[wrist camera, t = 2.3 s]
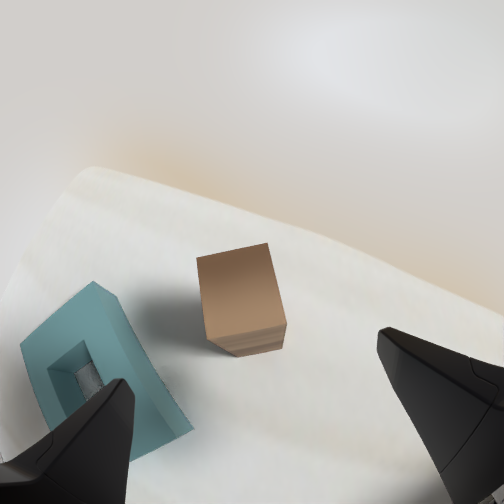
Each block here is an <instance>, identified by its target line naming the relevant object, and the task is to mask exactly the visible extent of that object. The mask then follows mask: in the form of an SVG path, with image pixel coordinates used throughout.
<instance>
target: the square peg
mask: <svg viewBox="0 0 504 504" xmlns="http://www.w3.org/2000/svg"><path fill="white" fill-rule="evenodd" d="M196 259H197V268H198V277H199V285H200V293H201V301H202V309H203V316H204V323H205V330H206V336H207V340H209V341H211V342H212V343H214V344H216V345H217V346H219V347H221V348H222V349H224V350H226V351H228V352H229V353H231V354H233V355H235V356H236V357H243V356H249V355H254V354H259V353H264V352H269V351H274V350H278V349H282V346H283V341H284V336H285V331H286V326H287V322H286V318H285V313H284V309H283V305H282V301H281V297H280V292H279V288H278V284H277V280H276V276H275V272H274V268H273V264H272V260H271V255H270V251H269V247H268V243H264V244H259V245H254V246H250V247H245V248H240V249H235V250H231V251H226V252H221V253H216V254H212V255H207V256H202V257H198V258H196Z"/></svg>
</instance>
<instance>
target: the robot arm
mask: <svg viewBox="0 0 504 504" xmlns="http://www.w3.org/2000/svg"><path fill="white" fill-rule="evenodd" d="M377 353H378V356H379V358H380V360H381V362H382V365H383V367H384V369H385V371H386V374H387V376H388V378H389V381H390V383H391V385H392V387H393V389H394V391H395V393H396V394H397V396H398V398H399V400H400V401H401V403H402V405H403V407H404V408H405V410H406V412H407V414H408V415H409V417H410V419H411V421H412V423H413V424H414V426H415V428H416V430H417V432H418V433H419V435H420V437H421V439H422V441H423V443H424V445H425V447H426V448H427V450H428V452H429V454H430V456H431V458H432V460H433V462H434V464H435V466H436V468H437V470H438V472H439V474H440V476H441V478H442V480H443V482H444V485H445V487H446V489H447V491H448V493H449V495H450V497H451V499H452V502H453V504H478V503H479V502H481V501H482V500H484V499H485V498H486V497H488V496H489V495H491V494H492V495H493V497H494V499H493V500H492V501H491V502H489V503H488V504H504V367H500V366H496V365H492V364H489V363H486V362H483V361H480V360H477V359H474V358H471V357H470V358H469V357H468V356H466V355H463V354H460V353H458V352H455V351H452V350H450V349H447V348H444V347H441V346H439V345H436V344H433V343H431V342H428V341H426V340H423V339H420V338H418V337H415V336H412V335H410V334H407V333H405V332H402V331H399V330H397V329H394V328H392V327H387V328H384V329H381V330H379V332H378V339H377ZM134 413H135V394H134V392H133V391H132V389H131V388H130V386H129V384H128V383H127V381H126V380H125V379H123V378H115V379H113V380H112V381H110V382H109V383H108V384H107V385H106V386H105V387H103V388H102V389H101V390H100V391H99V392H97V393H96V394H95V395H94V396H93V397H92V398H90V399H89V400H88V401H87V402H86V403H84V404H83V405H82V406H81V407H80V408H78V409H77V410H76V411H75V412H74V413H72V414H71V415H70V416H69V417H68V418H67V419H65V420H64V421H63V422H62V423H61V424H59V425H58V426H57V427H56V428H55V429H54V430H52V431H51V432H50V433H49V434H47V435H46V436H45V437H44V438H42V439H41V440H40V441H39V442H37V443H36V444H34V445H33V446H31V447H30V448H29V449H27V450H26V451H24V452H23V453H21V454H20V455H18V456H17V457H15V458H14V459H12V460H10V461H8V462H5V463H0V504H125V497H126V486H127V477H128V468H129V460H130V453H131V446H132V439H133V431H134Z"/></svg>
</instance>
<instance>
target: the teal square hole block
mask: <svg viewBox="0 0 504 504" xmlns="http://www.w3.org/2000/svg"><path fill="white" fill-rule="evenodd" d="M20 347H21V351H22V354H23V358H24V362H25V365H26V368H27V372H28V375H29V378H30V381H31V384H32V387H33V390H34V393H35V395H36V398H37V401H38V403H39V406H40V408H41V411H42V413H43V415H44V418H45V420H46V422H47V425H48V427H49V429H50V431H52V430H54V429H55V428H56V427H57V426H58V425H59V424H61V423H62V422H63V421H64V420H65V419H67V418H68V417H69V416H70V415H71V414H72V413H74V412H75V411H76V410H77V409H78V408H80V407H81V406H82V405H83V404H84V403H86V400H85V398H84V396H83V394H82V391H81V389H80V387H79V385H78V382H77V380H76V378H75V375H74V373H75V372H76V371H78V370H79V369H81V368H82V367H83V366H85V365H86V364H87V363H89V362H90V361H92V360H93V362H94V364H95V367H96V369H97V371H98V373H99V375H100V377H101V379H102V381H103V383H104V385H105V386H106V385H107V384H108V383H109V382H110V381H112V380H113V379H115V378H123V379H125V380H126V381H127V383H128V384H129V386H130V388H131V389H132V391H133V392H134V394H135V413H134V431H133V439H132V446H131V453H130V460H129V462H131V461H133V460H135V459H137V458H139V457H141V456H144V455H146V454H148V453H150V452H152V451H154V450H156V449H158V448H160V447H162V446H164V445H165V444H167V443H169V442H171V441H173V440H175V439H177V438H179V437H180V436H182V435H184V434H186V433H187V432H189V431H191V430H193V429H194V428H193V426H192V425H191V424H190V422H189V421H188V419H187V418H186V417H185V415H184V414H183V412H182V411H181V410H180V408H179V407H178V405H177V404H176V402H175V401H174V399H173V398H172V396H171V395H170V393H169V392H168V390H167V389H166V387H165V385H164V384H163V382H162V381H161V379H160V377H159V376H158V374H157V373H156V371H155V369H154V368H153V366H152V364H151V362H150V361H149V359H148V357H147V355H146V354H145V352H144V350H143V348H142V347H141V345H140V343H139V341H138V339H137V337H136V335H135V334H134V332H133V330H132V328H131V326H130V324H129V322H128V320H127V318H126V316H125V314H124V312H123V310H122V307H121V305H120V303H119V301H118V299H117V297H116V296H115V295H114V294H112V293H111V292H109V291H108V290H106V289H104V288H103V287H101V286H100V285H98V284H97V283H95V282H94V281H92V282H91V283H90V284H89V285H87V286H86V287H85V288H84V289H82V290H81V291H80V292H79V293H77V294H76V295H75V296H74V297H73V298H71V299H70V300H69V301H68V302H67V303H65V304H64V305H63V306H62V307H61V308H60V309H58V310H57V311H56V312H55V313H54V314H53V315H51V316H50V317H49V318H48V319H47V320H46V321H45V322H44V323H42V324H41V325H40V326H39V327H38V328H37V329H36V330H35V331H34V332H33V333H31V334H30V335H29V336H28V337H27V338H26V339H25V340H24V341H23V342H22V343H21V344H20Z"/></svg>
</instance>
